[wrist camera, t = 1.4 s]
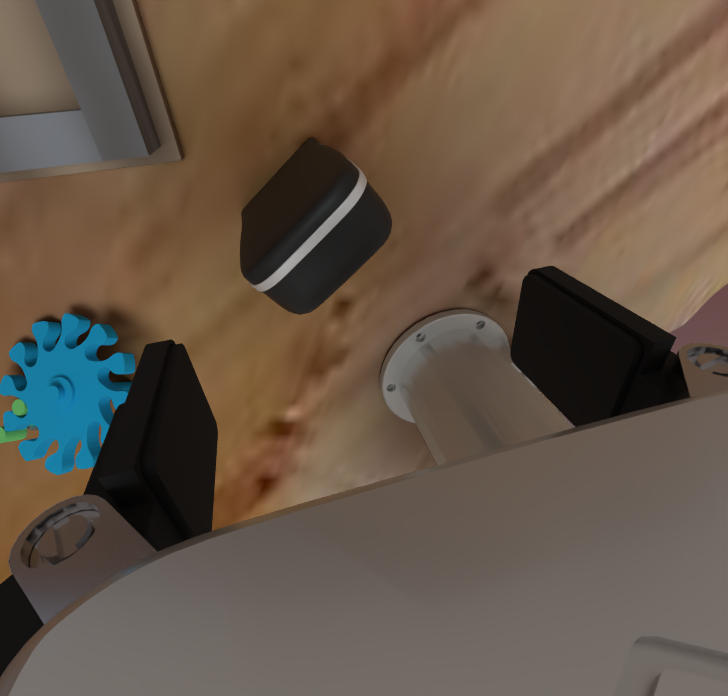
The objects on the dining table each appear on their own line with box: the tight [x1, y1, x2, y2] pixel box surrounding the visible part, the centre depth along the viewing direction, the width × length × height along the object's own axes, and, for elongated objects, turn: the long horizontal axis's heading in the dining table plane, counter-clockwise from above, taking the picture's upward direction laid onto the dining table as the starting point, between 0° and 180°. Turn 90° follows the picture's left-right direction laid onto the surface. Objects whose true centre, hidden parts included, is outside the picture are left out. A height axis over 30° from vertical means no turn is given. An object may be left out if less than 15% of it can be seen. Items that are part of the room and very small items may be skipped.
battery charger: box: [240, 137, 392, 315], centre depth 21 cm, size 7×4×11 cm, turn 131°
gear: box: [0, 313, 135, 475], centre depth 27 cm, size 11×6×10 cm
